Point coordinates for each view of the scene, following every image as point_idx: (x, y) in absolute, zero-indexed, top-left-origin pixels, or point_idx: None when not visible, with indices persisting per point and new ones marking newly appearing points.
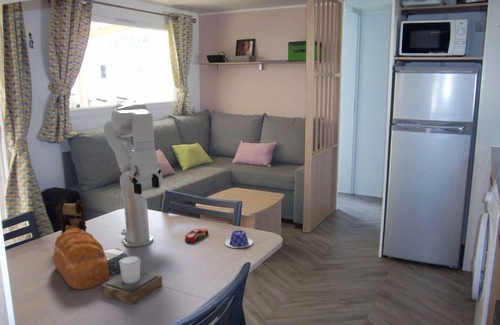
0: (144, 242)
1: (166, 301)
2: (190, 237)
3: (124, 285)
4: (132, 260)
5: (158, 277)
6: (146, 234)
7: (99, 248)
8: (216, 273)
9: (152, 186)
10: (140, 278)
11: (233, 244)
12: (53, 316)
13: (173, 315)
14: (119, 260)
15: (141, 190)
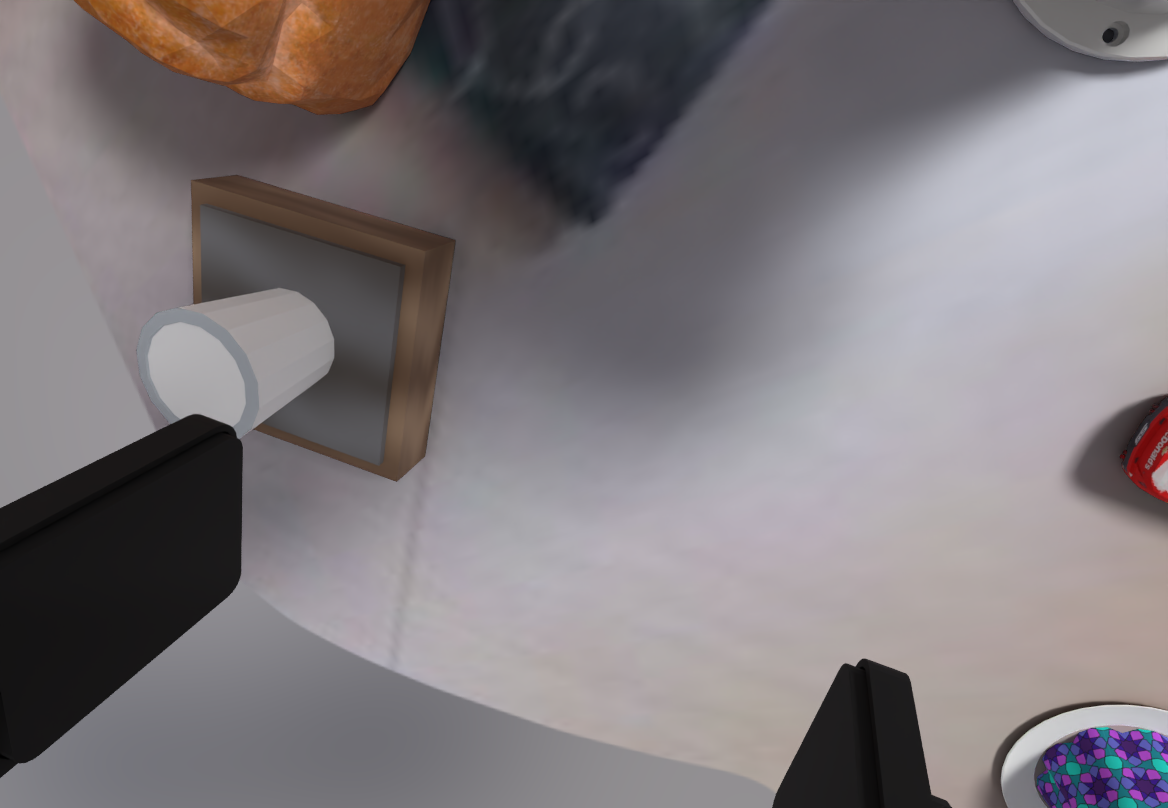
0: (1067, 15)
1: (315, 518)
2: (1149, 473)
3: None
4: (202, 399)
5: (379, 469)
6: (1164, 2)
7: (189, 34)
8: (622, 682)
9: (843, 679)
10: (317, 386)
11: (1054, 764)
12: (9, 54)
13: (247, 570)
14: (164, 311)
15: (179, 633)
